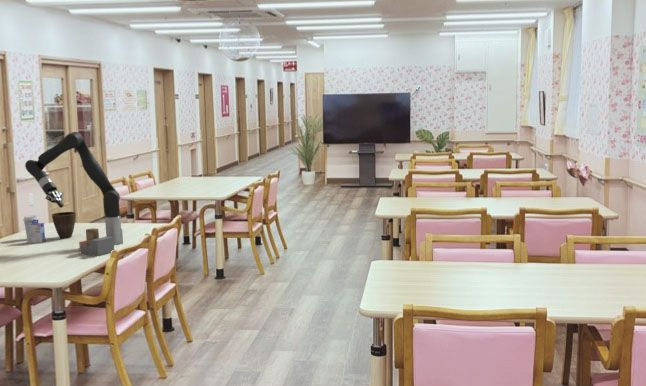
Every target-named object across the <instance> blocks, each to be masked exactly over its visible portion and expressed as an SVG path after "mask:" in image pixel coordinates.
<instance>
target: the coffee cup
mask: <svg viewBox="0 0 646 386" xmlns="http://www.w3.org/2000/svg"><path fill="white" fill-rule="evenodd" d="M33 220H38V221H39V217H38V215H36V214H35V215H25V216H24V217H23V222H24V224H23V225H24V229H25V235H26V236H27V231H26V225H27V224H30V223H32V222H33ZM34 222H37V221H34Z"/></svg>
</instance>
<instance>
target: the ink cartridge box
mask: <svg viewBox="0 0 646 386" xmlns="http://www.w3.org/2000/svg"><path fill="white" fill-rule="evenodd" d="M34 221H37V222H34ZM26 231H27V235H26V242H27V243H26V244H40V243H42V244H43V243H45V242H46V236H45V223H44V222H39V219H38V220H33V222H32V223H30V224H27V225H26V229H25V232H26Z"/></svg>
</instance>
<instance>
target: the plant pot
mask: <svg viewBox="0 0 646 386" xmlns="http://www.w3.org/2000/svg"><path fill="white" fill-rule="evenodd" d="M76 214H77V213H76V212H75V211H62V212H61V211H60V212H55V213H52V214H51V218H52V222H53V225H54V228H55V231H56V233H57V236H58V237H59V239H62V240H63V239H70V238H72V237H73V233H74V230H75V225H76V224H75V223H76Z"/></svg>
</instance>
